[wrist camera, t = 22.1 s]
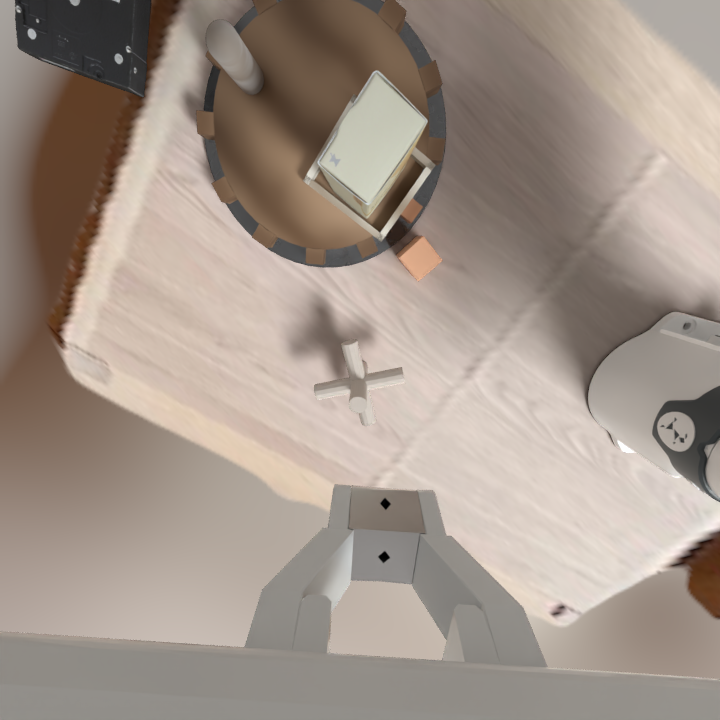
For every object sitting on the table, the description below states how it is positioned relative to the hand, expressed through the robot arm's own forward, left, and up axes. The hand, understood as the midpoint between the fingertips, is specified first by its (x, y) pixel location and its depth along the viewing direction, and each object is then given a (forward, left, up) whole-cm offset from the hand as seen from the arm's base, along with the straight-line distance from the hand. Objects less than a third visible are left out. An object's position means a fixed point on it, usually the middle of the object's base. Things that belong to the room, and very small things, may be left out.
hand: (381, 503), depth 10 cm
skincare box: (+1, -13, -28) cm, 31 cm away
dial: (+6, -16, -31) cm, 35 cm away
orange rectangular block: (-4, -6, -31) cm, 32 cm away
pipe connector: (+1, +8, -31) cm, 32 cm away
